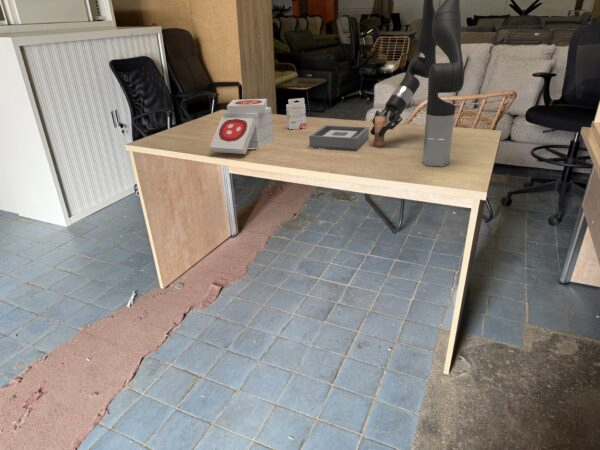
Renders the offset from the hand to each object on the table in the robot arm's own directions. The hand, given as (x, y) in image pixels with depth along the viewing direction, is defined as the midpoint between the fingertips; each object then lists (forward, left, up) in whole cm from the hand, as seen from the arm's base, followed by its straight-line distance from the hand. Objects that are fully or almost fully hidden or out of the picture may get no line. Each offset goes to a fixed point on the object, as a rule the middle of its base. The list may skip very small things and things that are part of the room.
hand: (375, 134), depth 169 cm
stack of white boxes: (-13, +53, -5) cm, 55 cm away
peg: (+2, -1, -5) cm, 5 cm away
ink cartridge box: (+25, +45, -5) cm, 51 cm away
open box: (+3, +16, -5) cm, 17 cm away
